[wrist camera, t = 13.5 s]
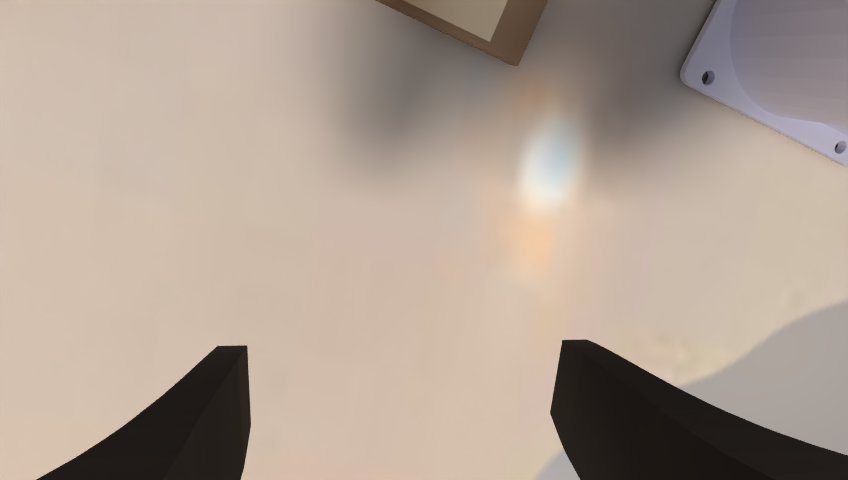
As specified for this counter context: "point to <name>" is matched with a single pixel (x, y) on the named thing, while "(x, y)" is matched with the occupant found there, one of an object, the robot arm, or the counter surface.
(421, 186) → the counter surface
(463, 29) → the board
